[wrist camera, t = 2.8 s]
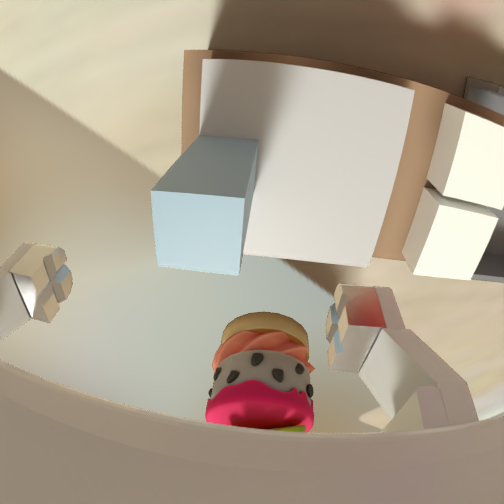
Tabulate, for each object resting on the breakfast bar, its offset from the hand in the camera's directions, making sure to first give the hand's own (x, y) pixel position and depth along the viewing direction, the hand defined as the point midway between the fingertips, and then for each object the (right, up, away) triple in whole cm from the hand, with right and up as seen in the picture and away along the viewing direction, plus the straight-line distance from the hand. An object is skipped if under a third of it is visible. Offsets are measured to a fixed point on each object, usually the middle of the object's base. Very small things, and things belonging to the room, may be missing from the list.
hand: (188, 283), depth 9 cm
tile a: (+15, +7, +7) cm, 18 cm away
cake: (+3, -9, +27) cm, 29 cm away
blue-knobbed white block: (+4, +6, +9) cm, 12 cm away
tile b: (+15, +3, +10) cm, 18 cm away
